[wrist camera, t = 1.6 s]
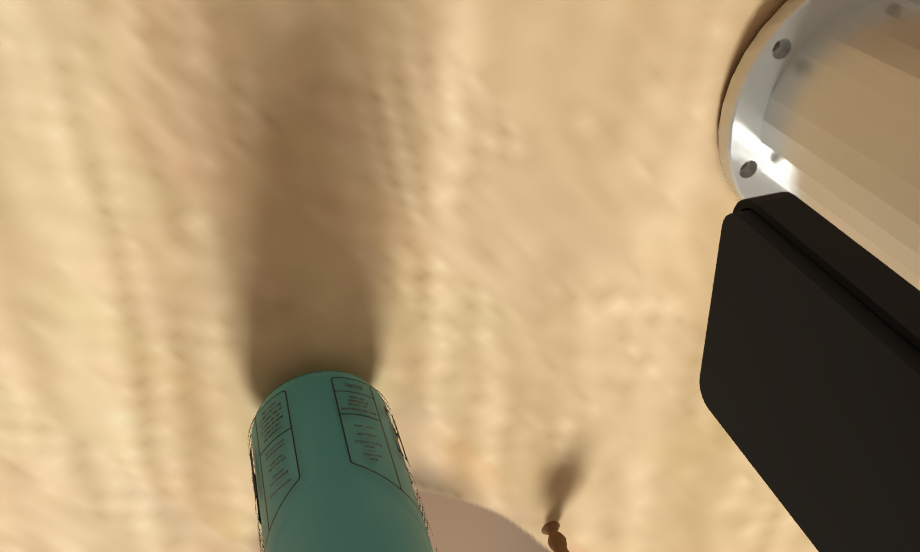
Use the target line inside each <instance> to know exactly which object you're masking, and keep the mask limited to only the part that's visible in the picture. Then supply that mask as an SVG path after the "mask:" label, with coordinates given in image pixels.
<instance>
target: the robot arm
mask: <svg viewBox="0 0 920 552" xmlns="http://www.w3.org/2000/svg"><path fill="white" fill-rule="evenodd" d="M718 135H719V156H720V160H721V164H722V168H723V172H724V176H725V177H726V179H727V181H728V183H729V185H730V187H731V189H732V191H733V192H734V193H735V194H736V195H737V197H738V198H739V199H740V200H741V201H739V202H738V203H737V205H736V206H735V208H734V210H733V213H731V214H729V215H727V216H726V217H725V219H724V221H723V224H722V229H721V236H720V243H719V250H718V257H717V263H716V270H715V277H714V284H713V291H712V297H711V304H710V311H709V318H708V325H707V331H706V338H705V345H704V352H703V359H702V366H701V372H700V390H701V394H702V397H703V400H704V402H705V404H706V406H707V407H708V409H709V410H710V411H711V413H712V414H713V415H714V417H715V418H716V419H717V420H718V422H719V423H720V424H721V426H722V427H723V428H724V429H725V431H726V432H727V433H728V435H729V436H730V437H731V439H732V440H733V441H734V442H735V444H736V445H737V446H738V448H739V449H740V450H741V452H742V453H743V454H744V455H745V457H746V458H747V459H748V461H749V462H750V463H751V464H752V466H753V467H754V468H755V470H756V471H757V472H758V474H759V475H760V476H761V477H762V479H763V480H764V481H765V483H766V484H767V485H768V486H769V488H770V489H771V490H772V492H773V493H774V494H775V496H776V497H777V498H778V499H779V501H780V502H781V503H782V505H783V506H784V507H785V509H786V510H787V511H788V512H789V514H790V515H791V516H792V518H793V519H794V520H795V521H796V523H797V524H798V525H799V527H800V528H801V529H802V531H803V532H804V533H805V534H806V536H807V537H808V538H809V540H810V541H811V542H812V544H813V545H814V546H815V547H816V549H817V550H818V551H819V552H920V0H788V1H787V2H786V3H784V4H783V5H782V6H781V8H780V9H779V10H778V11H777V12H776V13H775V14H774V15H773V16H772V17H771V18H770V19H769V21H768V22H767V23H766V24H765V25H764V26H763V27H762V28H761V30H760V31H759V33H758V34H757V36H756V37H755V38H754V40H753V41H752V43H751V44H750V46H749V47H748V49H747V50H746V51H745V53H744V55H743V57H742V59H741V61H740V63H739V65H738V67H737V69H736V71H735V73H734V75H733V77H732V79H731V81H730V84H729V87H728V90H727V93H726V96H725V99H724V102H723V105H722V111H721V118H720V124H719V130H718Z"/></svg>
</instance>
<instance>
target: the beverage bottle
mask: <svg viewBox="0 0 920 552" xmlns="http://www.w3.org/2000/svg"><path fill="white" fill-rule="evenodd" d="M378 392H379V391H378ZM378 392H377V390H376V389H375V388H373V387H372V386H371V385H370V384H369V383H368V382H366V381H365V380H363V379H361V378H359V377H357V376H354V375H352V374H348V373H344V372H338V371H320V372H313V373H308V374H304V375H301V376H298V377H296V378H293V379H291V380H289V381H287V382H286V383H284V384H282V385H281V386H279V387H278V388H276V389H275V390H274V391H273V392H272V393H271V394H270V395H269V396H268V397H267V398H266V399H265V400H264V401H263V403H262V404H261V406H260V408H259V410H258V412H257V414H256V416H255V418H254V419H255V420H253V421H254V424H253V427H252V434H251V436H252V444H251V446H252V449H253V457H254V465H253V460H252V459H253V458H252V451H251V449H250V450H249V451H250V453H249V455H250V460H251V467H252V475H253V477H252V482H253V484H254V490H253V491H254V493H255V502H256V498H257V507H258V516H259V518H258V522H260V524H261V525H262V533H263V543H264V546H263V545H262V546H263V548H264V551H263V550H262V551H263V552H433V549H432V546H431V542H430V539H429V536H428V532H427V529H426V526H425V522H424V521H425V520H423V517H422V516H423V513H422V512H421V511H420V507H419V505H418V502H417V499H416V496H415V493H414V490H413V487H412V482H411V479H410V476H409V473H408V469H407V467H406V464H405V461H404V458H403V456H404V455H403V453H402V452H401V449H400V446H399V443H398V437H399V439H400V436H399V433H398V430H397V427H396V424H395V421H394V419H393V421H394V424H395V427H396V429H394V427H393V425H392V423H391V420H390V417H389V413H390V412H389V411H388V410H387V407H386V405H387V404H386V403H384V402H385V401H384V400H383V399H382V397H381V396H380V394H381V393H380V392H379V393H380V394H379V393H378ZM381 395H382V394H381ZM382 396H383V395H382ZM383 397H384V396H383ZM385 400H386V399H385ZM387 403H388V402H387ZM385 404H386V405H385ZM388 408H389V406H388ZM389 409H391V408H389ZM388 412H389V413H388ZM391 416H392V418H393V415H391ZM252 423H253V422H252ZM251 425H252V424H251ZM250 428H251V427H250ZM396 430H397V433H396ZM249 431H250V430H249ZM251 436H250V438H251ZM248 437H249V435H248ZM249 441H250V440H249ZM400 442H401V439H400ZM249 443H250V442H249ZM249 445H250V444H249ZM401 445H402V442H401ZM248 447H249V446H248ZM402 448H403V445H402ZM403 451H404V448H403ZM404 454H405V451H404ZM404 457H406V454H405V456H404ZM405 459H406V460H407V457H406V458H405ZM407 462H408V460H407ZM408 464H409V463H408ZM409 466H410V465H409ZM253 467H254V468H255V474H256V475H255V474H254V469H253ZM412 477H413V476H412ZM413 479H414V478H413ZM414 484H415V483H414ZM417 490H418V489H417ZM255 509H256V504H255ZM421 513H422V514H421ZM256 514H257V513H256ZM258 516H257V517H258ZM427 523H428V522H427ZM258 525H259V523H258ZM258 525H257V526H258ZM258 528H259V526H258ZM259 530H260V529H259ZM259 532H261V531H259ZM262 533H261V534H262ZM258 535H260V533H259V534H258ZM260 536H261V535H260ZM260 536H259V542H260V544H261V539H260ZM260 547H261V545H260ZM261 549H262V547H261Z"/></svg>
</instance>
